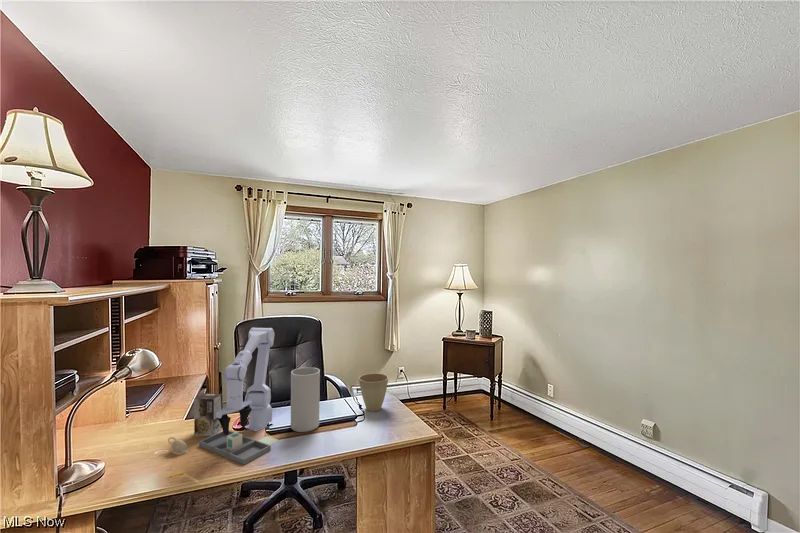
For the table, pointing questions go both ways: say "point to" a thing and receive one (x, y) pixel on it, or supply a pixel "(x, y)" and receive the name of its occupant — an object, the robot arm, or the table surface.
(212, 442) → the tray
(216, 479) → the table surface
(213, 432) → the coffee box
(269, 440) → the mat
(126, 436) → the table surface
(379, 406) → the plant pot
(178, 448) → the decorative ornament
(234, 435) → the letter block
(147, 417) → the table surface
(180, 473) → the pencil
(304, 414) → the cylinder vase
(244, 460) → the tray
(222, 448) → the tray
